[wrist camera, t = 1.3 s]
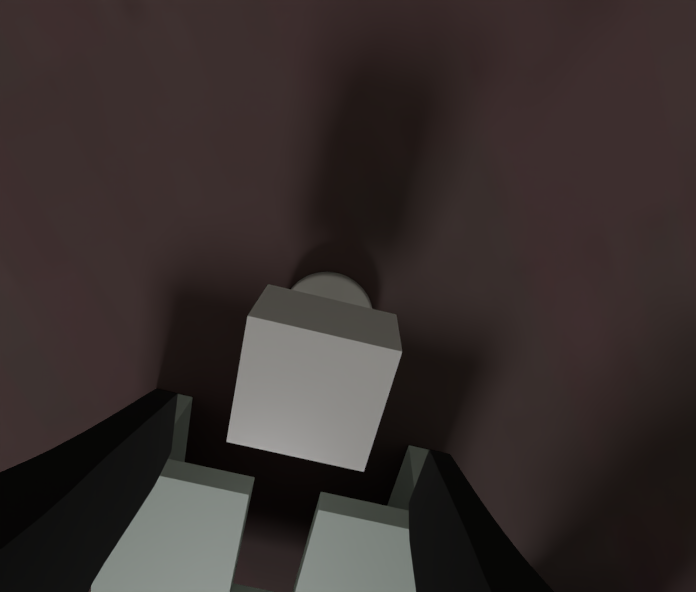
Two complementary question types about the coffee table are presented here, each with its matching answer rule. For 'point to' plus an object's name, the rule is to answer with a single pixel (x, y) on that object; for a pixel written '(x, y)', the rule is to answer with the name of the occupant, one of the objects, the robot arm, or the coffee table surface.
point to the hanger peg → (315, 372)
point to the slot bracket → (228, 526)
